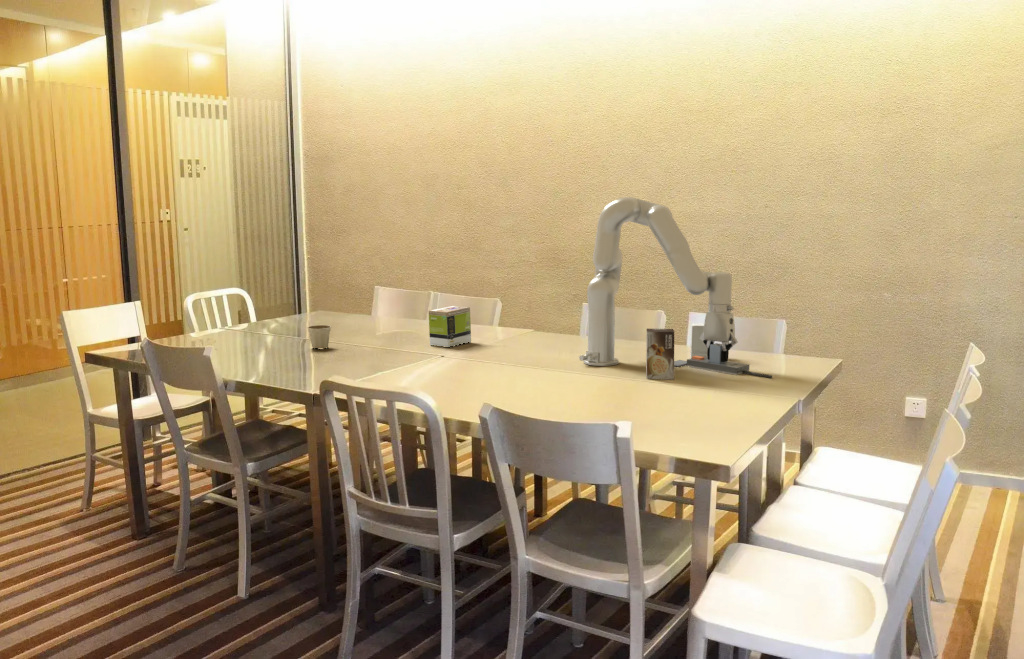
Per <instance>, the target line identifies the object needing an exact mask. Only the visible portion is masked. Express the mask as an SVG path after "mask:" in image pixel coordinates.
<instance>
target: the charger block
mask: <svg viewBox="0 0 1024 659" xmlns="http://www.w3.org/2000/svg"><path fill="white" fill-rule="evenodd" d="M721 351H723V347H722V343H717V342H716V343H715V342H714V344H711V345H710V359H709V363H715V364H723V363H726V362H721Z"/></svg>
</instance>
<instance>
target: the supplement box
mask: <svg viewBox="0 0 1024 659" xmlns="http://www.w3.org/2000/svg"><path fill="white" fill-rule="evenodd" d="M704 323H705V322H692V323H691V330H690V331H691V332H690V333H691V334H690V359H691V358H692V356H701V357H707V358H708V356H707V349H708V348H706V345H705V344H704V342H703V341H702V340H701V339H700V336H701V334H702V333H703V332H704Z"/></svg>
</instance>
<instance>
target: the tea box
mask: <svg viewBox="0 0 1024 659" xmlns="http://www.w3.org/2000/svg"><path fill="white" fill-rule="evenodd" d="M471 322H472V321H471V308H470V307H469V306H468V307H467V306H457V305H450V306H445V307H439V308H435V309H430V310H428V329H429V331H428V332H429V333H428V334H429V345H430V346H431V345H437V346H445V347H450V346H453V347H455V346H454V345H457V346H460V345H459V344H461V345H463V343H465V344H468V342H469V343H472V328H471V327H472V326H471ZM450 348H451V347H450Z"/></svg>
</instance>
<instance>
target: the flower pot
mask: <svg viewBox="0 0 1024 659" xmlns="http://www.w3.org/2000/svg"><path fill="white" fill-rule="evenodd" d="M331 328H332V326H331V325H329V324H319V325H318V324H314V325H308V326H307V327H306V329H308V333H309V338H310V343H311V348H312V347H313V348H326V347H328V348H329V342H330V341H329V340H330V332H331V331H332V330H331ZM326 349H327V348H326Z"/></svg>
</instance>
